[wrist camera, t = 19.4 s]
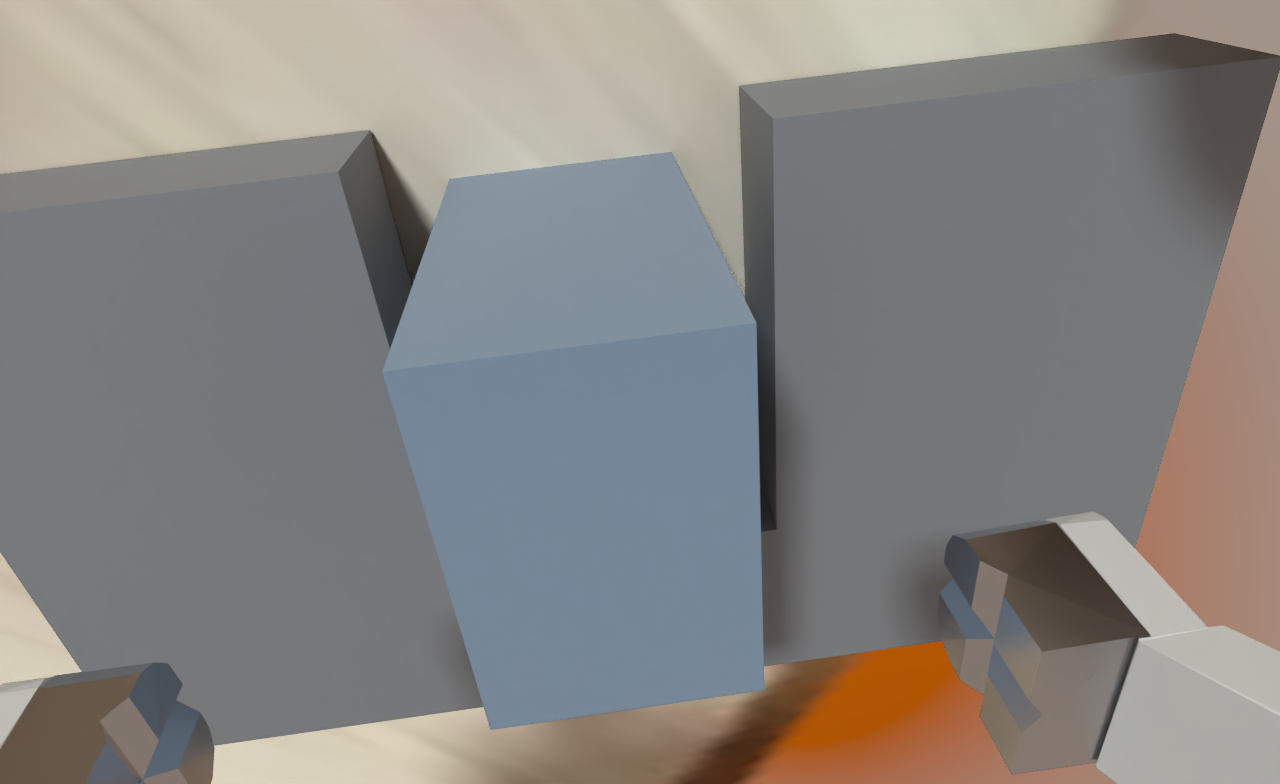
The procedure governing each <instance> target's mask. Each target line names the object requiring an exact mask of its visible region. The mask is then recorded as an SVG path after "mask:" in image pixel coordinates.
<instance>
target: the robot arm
mask: <svg viewBox="0 0 1280 784" xmlns="http://www.w3.org/2000/svg"><path fill="white" fill-rule="evenodd" d="M944 564H945V565H946V567H947V569H948V570H949V572H950V574H951V575H952V577H953V579H952V580H951V581H950V582H949V583H948V584H947V585H946V586H945V587H944V588H943V589H942V591H941V592H940V594H939V605H938V621H939V627H940V633H941V639H942V642H943V645H944V648H945V650H946V653H947V656H948V658H949V661H950V663H951V664H952V666H953V668H954V670H955V672H956V674H957V676H958V678H959V680H961V681H962V682H964V683H966V684H967V685H968V686H970V687H972V688H973V689H975V690H976V691H978V692H980V693H981V694H982V695H983V700H982V706H981V711H980V718H981V720H982V722H983V723H984V725H985V727H986V729H987V731H988V732H989V734H990V736H991V738H992V740H993V741H994V743H995V745H996V746H997V749H998V750H999V752H1000V754H1001V756H1002V758H1003V759H1004V761H1005V763H1006V765H1007V767H1008V768H1009V770H1010V772H1011V774H1019V773H1026V772H1033V771H1039V770H1047V769H1054V768H1061V767H1068V766H1075V765H1081V764H1089V763H1095V762H1097V764H1096V768H1097V769H1099V770H1100V771H1101V772H1102V773H1104V774H1105V775H1106V776H1108V777H1109V778H1110V779H1112V780H1113V781H1114V782H1115V783H1117V784H1280V652H1279V651H1277V650H1275V649H1273V648H1270V647H1268V646H1266V645H1264V644H1262V643H1260V642H1258V641H1256V640H1253V639H1251V638H1249V637H1247V636H1245V635H1243V634H1241V633H1238V632H1236V631H1235V630H1232V629H1230V628H1228V627H1226V626H1224V625H1221V626H1213V627H1207V626H1206V624H1205V623H1204V622H1203V621H1202V620H1201V619H1200V618H1199V617H1198V616H1197V615H1196V614H1195V613H1194V612H1193V610H1192V609H1191V608H1190V607H1189V606H1188V605H1187V604H1186V603H1185V602H1184V601H1183V600H1182V599H1181V598H1180V597H1179V595H1177V593H1176V592H1175V591H1174V590H1173V589H1172V588H1171V587H1170V586H1169V585H1168V584H1167V583H1166V582H1165V581H1164V580H1163V578H1162V577H1161V576H1160V575H1159V574H1158V573H1157V572H1156V571H1155V570H1154V569H1153V568H1152V567H1151V565H1149V563H1148V562H1147V561H1145V559H1144V558H1143V557H1142V556H1141V555H1140V554H1139V553H1138V552H1137V551H1136V549H1135V548H1134V547H1133V546H1132V545H1131V544H1130V543H1129V542H1128V541H1127V540H1126V539H1125V538H1124V537H1123V535H1122V534H1121V533H1120V532H1119V531H1118V530H1117V529H1116V528H1115V527H1114V526H1113V525H1112V524H1111V523H1110V522H1109V520H1108V519H1106V518H1105V517H1104V516H1102V515H1100V514H1098V513H1096V512H1093V511H1092V512H1086V513H1080V514H1075V515H1069V516H1063V517H1057V518H1051V519H1046V520H1044V521H1040V520H1038V521H1032V522H1026V523H1021V524H1015V525H1009V526H1003V527H997V528H991V529H985V530H979V531H973V532H967V533H961V534H956V535H952V537H951V539H950V540H949V542H948V543H947V545H946V551H945V558H944ZM182 685H183V683H182V682H181V681H180V679H179V678H178V676H177V675H176V674H175V672H174V671H173V669H172V668H171V666H170V665H169V664H168V663H146V664H139V665H131V666H124V667H116V668H109V669H101V670H94V671H86V672H79V673H71V674H64V675H56V676H54V677H48V678H41V679H33V680H26V681H19V682H11V683H4V684H2V685H1V686H0V784H211V781H212V777H213V762H214V744H213V740H212V736H211V732H210V728H209V726H208V724H207V723H206V721H205V719H204V718H203V716H202V714H201V713H200V712H199V711H197V710H195V709H193V708H191V707H189V706H187V705H185V704H183V703H181V702H179V701H177V697H178V695H179V693H180V690H181V688H182Z"/></svg>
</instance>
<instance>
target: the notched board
mask: <svg viewBox="0 0 1280 784" xmlns="http://www.w3.org/2000/svg"><path fill="white" fill-rule="evenodd" d="M1279 70H1280V56H1278V55H1274V54H1269V53H1264V52H1260V51H1254V50H1250V49H1245V48H1241V47H1236V46H1231V45H1227V44H1222V43H1217V42H1212V41H1207V40H1203V39H1198V38H1193V37H1189V36H1184V35H1179V34H1166V35H1158V36H1149V37H1142V38H1133V39H1124V40H1116V41H1108V42H1099V43H1091V44H1083V45H1075V46H1066V47H1058V48H1050V49H1041V50H1033V51H1025V52H1016V53H1008V54H1000V55H991V56H983V57H975V58H966V59H958V60H950V61H941V62H933V63H925V64H916V65H908V66H900V67H892V68H883V69H875V70H867V71H858V72H850V73H842V74H833V75H825V76H817V77H808V78H800V79H792V80H783V81H775V82H767V83H758V84H750V85H742V86H739V96H740V130H741V164H742V198H743V232H744V266H745V300H746V303H747V305H748V307H749V309H750V311H751V313H752V315H753V317H754V319H755V321H756V327H757V374H758V420H759V467H760V514H761V561H762V608H763V654H764V666H770V665H777V664H784V663H791V662H798V661H805V660H812V659H819V658H826V657H833V656H840V655H847V654H854V653H861V652H868V651H875V650H882V649H889V648H895V647H902V646H909V645H916V644H922V643H929V642H937V641H942V639H941V633H940V627H939V621H938V605H939V594H940V592H941V591H942V589H943V588H944V587H945V586H946V585H947V584H948V583H949V582H950V581H951V580H952V579H953V577H952V575H951V574H950V572H949V570H948V569H947V567H946V565H945V564H944V558H945V551H946V545H947V543H948V542H949V540H950V539H951V537H952V535H956V534H961V533H967V532H973V531H979V530H985V529H991V528H997V527H1003V526H1009V525H1015V524H1021V523H1026V522H1032V521H1038V520H1040V521H1044V520H1046V519H1051V518H1057V517H1063V516H1069V515H1075V514H1080V513H1086V512H1092V511H1093V512H1096V513H1098V514H1100V515H1102V516H1104V517H1105V518H1106V519H1108V520H1109V522H1110V523H1111V524H1112V525H1113V526H1114V527H1115V528H1116V529H1117V530H1118V531H1119V532H1120V533H1121V534H1122V535H1123V537H1124V538H1125V539H1126V540H1127V541H1128V542H1129V543H1130V544H1131V545H1132V546H1133V547H1134V548H1135V547H1136V544H1137V540H1138V537H1139V534H1140V530H1141V527H1142V524H1143V520H1144V517H1145V514H1146V511H1147V507H1148V504H1149V501H1150V497H1151V494H1152V491H1153V487H1154V484H1155V481H1156V477H1157V474H1158V471H1159V468H1160V464H1161V461H1162V457H1163V454H1164V451H1165V447H1166V444H1167V441H1168V438H1169V434H1170V431H1171V428H1172V424H1173V421H1174V418H1175V414H1176V411H1177V408H1178V405H1179V401H1180V398H1181V395H1182V391H1183V388H1184V385H1185V381H1186V378H1187V375H1188V371H1189V368H1190V365H1191V361H1192V358H1193V355H1194V352H1195V348H1196V345H1197V342H1198V338H1199V335H1200V332H1201V328H1202V325H1203V321H1204V318H1205V315H1206V312H1207V309H1208V305H1209V302H1210V299H1211V295H1212V292H1213V289H1214V285H1215V282H1216V279H1217V275H1218V272H1219V269H1220V265H1221V262H1222V259H1223V255H1224V252H1225V249H1226V245H1227V242H1228V239H1229V236H1230V232H1231V229H1232V225H1233V222H1234V219H1235V216H1236V212H1237V209H1238V206H1239V203H1240V199H1241V196H1242V193H1243V189H1244V186H1245V183H1246V179H1247V176H1248V173H1249V169H1250V166H1251V163H1252V159H1253V156H1254V153H1255V150H1256V146H1257V143H1258V140H1259V136H1260V132H1261V129H1262V126H1263V123H1264V120H1265V116H1266V113H1267V110H1268V106H1269V103H1270V100H1271V96H1272V93H1273V90H1274V87H1275V83H1276V80H1277V77H1278V73H1279ZM411 288H412V286H411V282H410V278H409V275H408V271H407V267H406V263H405V259H404V256H403V252H402V248H401V244H400V241H399V237H398V233H397V229H396V225H395V222H394V218H393V214H392V210H391V207H390V203H389V199H388V195H387V191H386V188H385V184H384V180H383V176H382V173H381V169H380V165H379V161H378V158H377V154H376V150H375V146H374V142H373V139H372V135H371V131H370V130H368V131H359V132H351V133H343V134H334V135H326V136H318V137H309V138H301V139H293V140H284V141H276V142H268V143H259V144H251V145H243V146H234V147H226V148H218V149H210V150H201V151H193V152H185V153H176V154H168V155H160V156H151V157H143V158H135V159H126V160H118V161H110V162H101V163H93V164H85V165H76V166H68V167H60V168H51V169H43V170H35V171H27V172H18V173H10V174H2V175H0V552H1V554H2V555H3V557H4V558H5V560H6V561H7V563H8V564H9V565H10V567H11V568H12V570H13V571H14V573H15V574H16V576H17V577H18V579H19V580H20V582H21V583H22V585H23V586H24V587H25V589H26V590H27V592H28V593H29V595H30V596H31V598H32V599H33V601H34V602H35V604H36V605H37V606H38V608H39V609H40V611H41V612H42V614H43V615H44V617H45V618H46V620H47V621H48V623H49V624H50V625H51V627H52V628H53V630H54V631H55V633H56V634H57V636H58V637H59V639H60V640H61V642H62V643H63V645H64V646H65V647H66V649H67V650H68V652H69V653H70V655H71V656H72V658H73V659H74V661H75V662H76V664H77V665H78V666H79V668H80V669H81V671H82V672H86V671H94V670H101V669H109V668H116V667H124V666H131V665H139V664H146V663H168V664H169V665H170V666H171V668H172V669H173V671H174V672H175V674H176V675H177V676H178V678H179V679H180V681H181V682H182V683H183V685H182V688H181V690H180V693H179V695H178V697H177V701H179V702H181V703H183V704H185V705H187V706H189V707H191V708H193V709H195V710H197V711H199V712H200V713H201V714H202V716H203V718H204V719H205V721H206V723H207V724H208V726H209V728H210V732H211V736H212V740H213V744H214V745H221V744H228V743H235V742H242V741H249V740H256V739H263V738H270V737H277V736H284V735H291V734H298V733H305V732H312V731H319V730H326V729H333V728H340V727H347V726H353V725H360V724H367V723H374V722H381V721H388V720H395V719H402V718H409V717H416V716H423V715H430V714H437V713H444V712H451V711H458V710H465V709H472V708H479V707H484V706H483V703H482V700H481V696H480V693H479V690H478V686H477V683H476V680H475V677H474V673H473V670H472V667H471V663H470V660H469V657H468V653H467V650H466V647H465V644H464V640H463V637H462V634H461V630H460V627H459V624H458V620H457V617H456V614H455V610H454V607H453V604H452V601H451V597H450V594H449V591H448V587H447V584H446V581H445V577H444V574H443V571H442V568H441V564H440V561H439V558H438V554H437V551H436V548H435V544H434V541H433V538H432V535H431V531H430V528H429V525H428V521H427V518H426V515H425V511H424V508H423V505H422V502H421V498H420V495H419V492H418V488H417V485H416V482H415V478H414V475H413V472H412V469H411V465H410V462H409V459H408V455H407V452H406V449H405V445H404V442H403V439H402V436H401V432H400V429H399V426H398V422H397V419H396V416H395V412H394V409H393V406H392V403H391V399H390V396H389V393H388V389H387V386H386V383H385V379H384V376H383V373H382V371H383V368H384V365H385V362H386V359H387V356H388V354H389V351H390V348H391V345H392V342H393V339H394V336H395V334H396V331H397V328H398V325H399V322H400V319H401V317H402V314H403V311H404V308H405V305H406V302H407V300H408V297H409V294H410V291H411Z"/></svg>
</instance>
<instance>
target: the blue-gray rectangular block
mask: <svg viewBox="0 0 1280 784" xmlns="http://www.w3.org/2000/svg"><path fill="white" fill-rule="evenodd" d="M382 373H383V376H384V379H385V383H386V386H387V389H388V393H389V396H390V399H391V403H392V406H393V409H394V412H395V416H396V419H397V422H398V426H399V429H400V432H401V436H402V439H403V442H404V445H405V449H406V452H407V455H408V459H409V462H410V465H411V469H412V472H413V475H414V478H415V482H416V485H417V488H418V492H419V495H420V498H421V502H422V505H423V508H424V511H425V515H426V518H427V521H428V525H429V528H430V531H431V535H432V538H433V541H434V544H435V548H436V551H437V554H438V558H439V561H440V564H441V568H442V571H443V574H444V577H445V581H446V584H447V587H448V591H449V594H450V597H451V601H452V604H453V607H454V610H455V614H456V617H457V620H458V624H459V627H460V630H461V634H462V637H463V640H464V644H465V647H466V650H467V653H468V657H469V660H470V663H471V667H472V670H473V673H474V677H475V680H476V683H477V686H478V690H479V693H480V696H481V700H482V703H483V706H484V710H485V713H486V716H487V719H488V723H489V726H490V729H491V730H493V729H500V728H507V727H514V726H520V725H527V724H534V723H541V722H548V721H555V720H562V719H568V718H575V717H582V716H589V715H596V714H603V713H610V712H616V711H623V710H630V709H637V708H644V707H651V706H658V705H665V704H671V703H678V702H685V701H692V700H699V699H706V698H713V697H719V696H726V695H733V694H740V693H747V692H754V691H761V690H764V654H763V608H762V561H761V514H760V467H759V420H758V374H757V327H756V321H755V319H754V317H753V315H752V313H751V311H750V309H749V307H748V305H747V303H746V301H745V299H744V297H743V295H742V293H741V291H740V289H739V287H738V285H737V283H736V281H735V279H734V277H733V275H732V273H731V271H730V269H729V267H728V265H727V263H726V261H725V259H724V257H723V255H722V253H721V251H720V249H719V247H718V245H717V243H716V241H715V239H714V237H713V234H712V232H711V230H710V228H709V226H708V224H707V222H706V220H705V218H704V216H703V214H702V212H701V210H700V208H699V206H698V204H697V202H696V200H695V198H694V196H693V194H692V192H691V190H690V188H689V186H688V184H687V182H686V180H685V178H684V176H683V174H682V172H681V170H680V168H679V166H678V164H677V162H676V160H675V158H674V156H673V154H672V152H667V153H659V154H650V155H642V156H634V157H626V158H618V159H609V160H601V161H593V162H585V163H577V164H568V165H560V166H552V167H544V168H536V169H527V170H519V171H511V172H503V173H495V174H486V175H478V176H470V177H462V178H454V179H450V180H449V183H448V186H447V189H446V191H445V194H444V197H443V200H442V203H441V206H440V209H439V211H438V214H437V217H436V220H435V223H434V226H433V228H432V231H431V234H430V237H429V240H428V243H427V246H426V248H425V251H424V254H423V257H422V260H421V263H420V265H419V268H418V271H417V274H416V277H415V280H414V282H413V285H412V288H411V291H410V294H409V297H408V300H407V302H406V305H405V308H404V311H403V314H402V317H401V319H400V322H399V325H398V328H397V331H396V334H395V336H394V339H393V342H392V345H391V348H390V351H389V354H388V356H387V359H386V362H385V365H384V368H383V371H382Z"/></svg>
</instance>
